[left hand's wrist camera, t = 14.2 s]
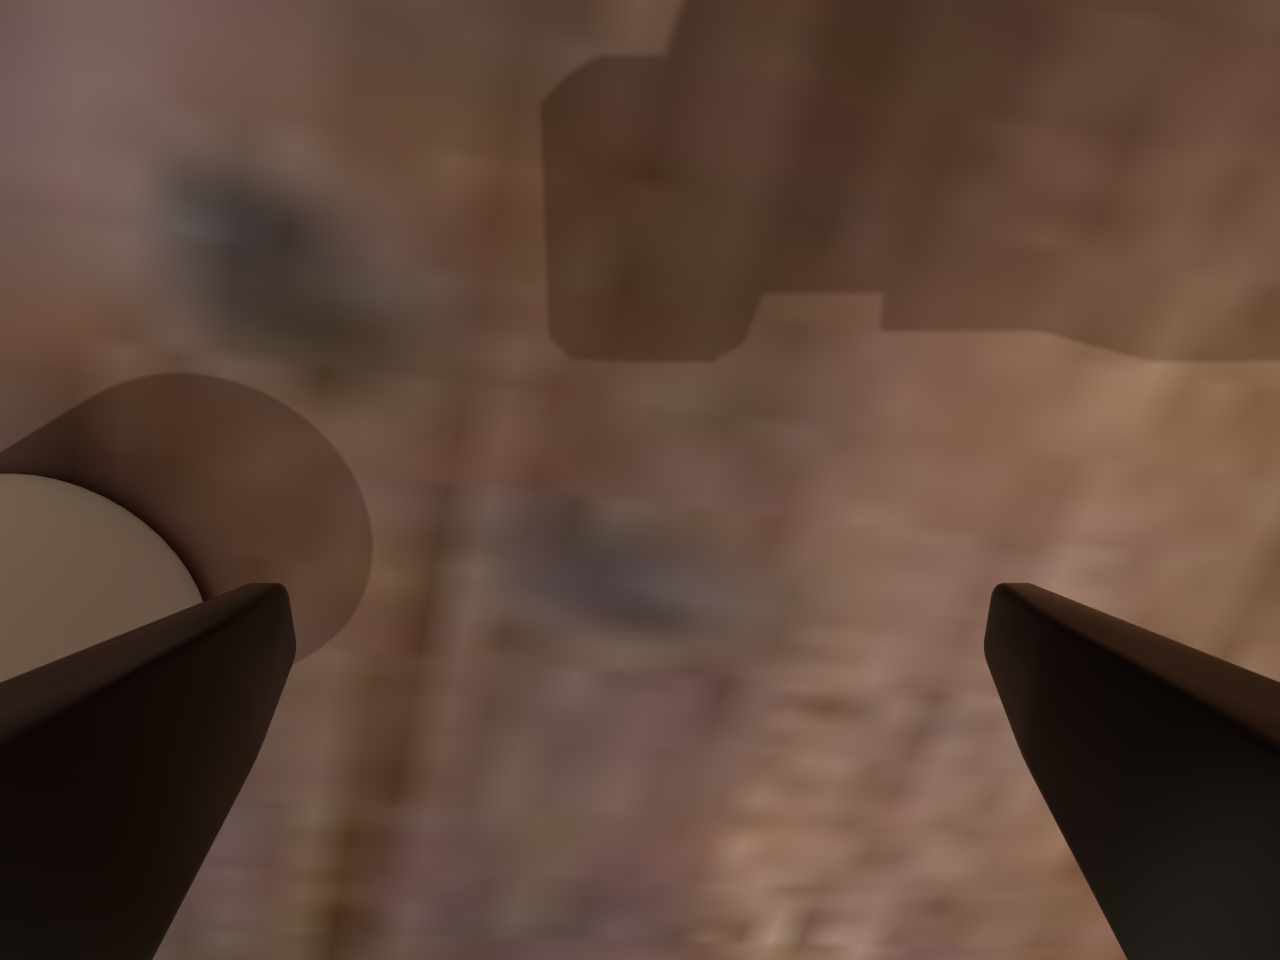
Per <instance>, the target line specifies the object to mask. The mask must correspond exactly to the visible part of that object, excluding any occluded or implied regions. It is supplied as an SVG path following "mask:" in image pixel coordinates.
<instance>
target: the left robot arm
mask: <svg viewBox="0 0 1280 960" xmlns="http://www.w3.org/2000/svg"><path fill="white" fill-rule="evenodd" d="M295 653H296V639H295V632H294V626H293V620H292V613H291V607H290V601H289V595H288V592H287V590H286V588H285V587H284V586H283V585H282V584H279V583H251V584H247V585H245V586H242V587H240V588H237V589H235V590H232V591H229V592H227V593H224V594H222V595H219V596H217V597H214V598H212V599H209V600H207V601H204V602H202V603H199V604H197V605H194V606H192V607H189V608H187V609H184V610H182V611H179V612H177V613H174V614H172V615H169V616H166V617H164V618H161V619H159V620H156V621H154V622H151V623H149V624H146V625H144V626H141V627H139V628H136V629H134V630H131V631H129V632H126V633H124V634H121V635H119V636H116V637H114V638H111V639H109V640H106V641H103V642H101V643H98V644H96V645H93V646H91V647H88V648H86V649H83V650H81V651H78V652H76V653H73V654H71V655H68V656H66V657H63V658H61V659H58V660H56V661H53V662H51V663H48V664H46V665H43V666H40V667H38V668H35V669H33V670H30V671H28V672H25V673H23V674H20V675H18V676H15V677H13V678H10V679H8V680H5V681H3V682H0V960H152V959H153V957H154V955H155V954H156V952H157V950H158V948H159V946H160V944H161V942H162V940H163V938H164V936H165V934H166V932H167V930H168V929H169V927H170V925H171V923H172V921H173V919H174V917H175V915H176V913H177V911H178V909H179V907H180V905H181V903H182V902H183V900H184V898H185V896H186V894H187V892H188V890H189V888H190V886H191V884H192V882H193V880H194V878H195V877H196V875H197V873H198V871H199V869H200V867H201V865H202V863H203V861H204V859H205V857H206V855H207V853H208V851H209V850H210V848H211V846H212V844H213V842H214V840H215V838H216V836H217V834H218V832H219V830H220V828H221V826H222V825H223V823H224V821H225V819H226V817H227V815H228V813H229V811H230V809H231V807H232V805H233V803H234V801H235V799H236V798H237V796H238V794H239V792H240V790H241V788H242V786H243V784H244V782H245V780H246V778H247V776H248V774H249V772H250V770H251V768H252V766H253V764H254V762H255V760H256V758H257V756H258V753H259V751H260V749H261V746H262V744H263V741H264V739H265V736H266V733H267V731H268V728H269V725H270V723H271V720H272V717H273V715H274V712H275V709H276V707H277V704H278V701H279V699H280V696H281V693H282V691H283V688H284V685H285V683H286V680H287V677H288V675H289V672H290V669H291V667H292V664H293V661H294V658H295ZM984 653H985V658H986V661H987V664H988V667H989V669H990V672H991V675H992V677H993V680H994V683H995V685H996V688H997V691H998V693H999V696H1000V699H1001V701H1002V704H1003V707H1004V709H1005V712H1006V715H1007V717H1008V720H1009V723H1010V725H1011V728H1012V731H1013V733H1014V736H1015V739H1016V741H1017V744H1018V746H1019V749H1020V751H1021V753H1022V756H1023V758H1024V760H1025V762H1026V764H1027V766H1028V768H1029V770H1030V772H1031V774H1032V776H1033V778H1034V780H1035V782H1036V784H1037V786H1038V788H1039V790H1040V792H1041V794H1042V796H1043V798H1044V800H1045V801H1046V803H1047V805H1048V807H1049V809H1050V811H1051V813H1052V815H1053V817H1054V819H1055V821H1056V823H1057V825H1058V826H1059V828H1060V830H1061V832H1062V834H1063V836H1064V838H1065V840H1066V842H1067V844H1068V846H1069V848H1070V850H1071V852H1072V853H1073V855H1074V857H1075V859H1076V861H1077V863H1078V865H1079V867H1080V869H1081V871H1082V873H1083V875H1084V877H1085V878H1086V880H1087V882H1088V884H1089V886H1090V888H1091V890H1092V892H1093V894H1094V896H1095V898H1096V900H1097V902H1098V904H1099V905H1100V907H1101V909H1102V911H1103V913H1104V915H1105V917H1106V919H1107V921H1108V923H1109V925H1110V927H1111V929H1112V930H1113V932H1114V934H1115V936H1116V938H1117V940H1118V942H1119V944H1120V946H1121V948H1122V950H1123V952H1124V954H1125V956H1126V957H1127V959H1128V960H1280V682H1277V681H1275V680H1272V679H1270V678H1267V677H1265V676H1262V675H1260V674H1257V673H1255V672H1252V671H1250V670H1247V669H1245V668H1242V667H1240V666H1237V665H1234V664H1232V663H1229V662H1227V661H1224V660H1222V659H1219V658H1217V657H1214V656H1212V655H1209V654H1207V653H1204V652H1202V651H1199V650H1197V649H1194V648H1192V647H1189V646H1187V645H1184V644H1182V643H1179V642H1177V641H1174V640H1171V639H1169V638H1166V637H1164V636H1161V635H1159V634H1156V633H1154V632H1151V631H1149V630H1146V629H1144V628H1141V627H1139V626H1136V625H1134V624H1131V623H1129V622H1126V621H1124V620H1121V619H1119V618H1116V617H1114V616H1111V615H1108V614H1106V613H1103V612H1101V611H1098V610H1096V609H1093V608H1091V607H1088V606H1086V605H1083V604H1081V603H1078V602H1076V601H1073V600H1071V599H1068V598H1066V597H1063V596H1061V595H1058V594H1056V593H1053V592H1051V591H1048V590H1045V589H1043V588H1040V587H1038V586H1035V585H1033V584H1029V583H1001V584H998V585H997V586H996V587H995V588H994V590H993V592H992V595H991V601H990V607H989V613H988V620H987V626H986V632H985V639H984Z"/></svg>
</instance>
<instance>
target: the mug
mask: <svg viewBox="0 0 1280 960" xmlns="http://www.w3.org/2000/svg"><path fill="white" fill-rule="evenodd" d="M202 602H203V600H202V598H201V595H200V593H199V590H198V588H197V586H196V584H195V583H194V581H193V579H192V577H191V575H190V573H189V572H188V570H187V569H186V567H185V566H184V564H183V563H182V562H181V560H180V559H179V558H178V556H177V555H176V553H175V552H174V551H173V550H172V549H171V548H170V547H169V546H168V545H167V544H166V542H165V541H164V540H163V539H162V538H161V537H160V536H159V535H158V534H157V533H155V532H154V531H153V530H152V529H151V528H150V527H149V526H148V525H146V524H145V523H144V522H143V521H142V520H140V519H139V518H137V517H136V516H135V515H133V514H132V513H130V512H129V511H128V510H126V509H125V508H123V507H121V506H119V505H118V504H116V503H114V502H112V501H110V500H109V499H107V498H105V497H103V496H101V495H98V494H96V493H94V492H91V491H89V490H87V489H85V488H82V487H79V486H76V485H73V484H70V483H67V482H64V481H60V480H57V479H52V478H47V477H41V476H36V475H25V474H13V473H12V474H0V682H3V681H5V680H8V679H10V678H13V677H15V676H18V675H20V674H23V673H25V672H28V671H30V670H33V669H35V668H38V667H40V666H43V665H46V664H48V663H51V662H53V661H56V660H58V659H61V658H63V657H66V656H68V655H71V654H73V653H76V652H78V651H81V650H83V649H86V648H88V647H91V646H93V645H96V644H98V643H101V642H103V641H106V640H109V639H111V638H114V637H116V636H119V635H121V634H124V633H126V632H129V631H131V630H134V629H136V628H139V627H141V626H144V625H146V624H149V623H151V622H154V621H156V620H159V619H161V618H164V617H166V616H169V615H172V614H174V613H177V612H179V611H182V610H184V609H187V608H189V607H192V606H194V605H197V604H199V603H202Z"/></svg>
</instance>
